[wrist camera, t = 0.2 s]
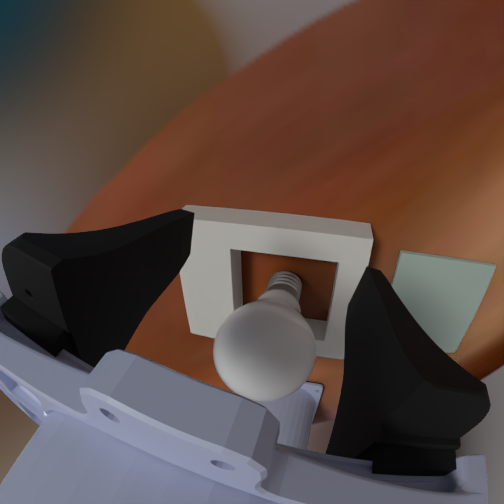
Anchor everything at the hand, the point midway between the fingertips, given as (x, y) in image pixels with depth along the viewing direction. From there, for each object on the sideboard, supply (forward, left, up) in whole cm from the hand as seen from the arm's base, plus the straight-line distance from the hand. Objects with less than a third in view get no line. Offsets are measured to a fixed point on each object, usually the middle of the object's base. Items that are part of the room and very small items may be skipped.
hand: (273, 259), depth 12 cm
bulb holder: (-8, +2, -10) cm, 13 cm away
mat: (-9, -12, -10) cm, 18 cm away
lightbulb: (-8, +1, -10) cm, 13 cm away
